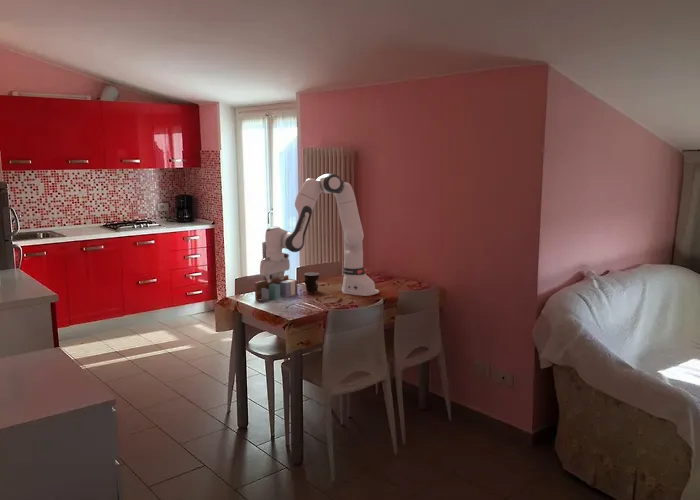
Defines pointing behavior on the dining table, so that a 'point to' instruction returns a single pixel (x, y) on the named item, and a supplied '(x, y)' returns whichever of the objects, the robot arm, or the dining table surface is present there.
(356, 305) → the dining table surface
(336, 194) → the robot arm
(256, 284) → the walnut rack
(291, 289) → the cream book
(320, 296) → the dining table surface
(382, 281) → the dining table surface
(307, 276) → the coffee mug
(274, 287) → the teal rectangular block
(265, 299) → the bookend
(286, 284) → the slate book
